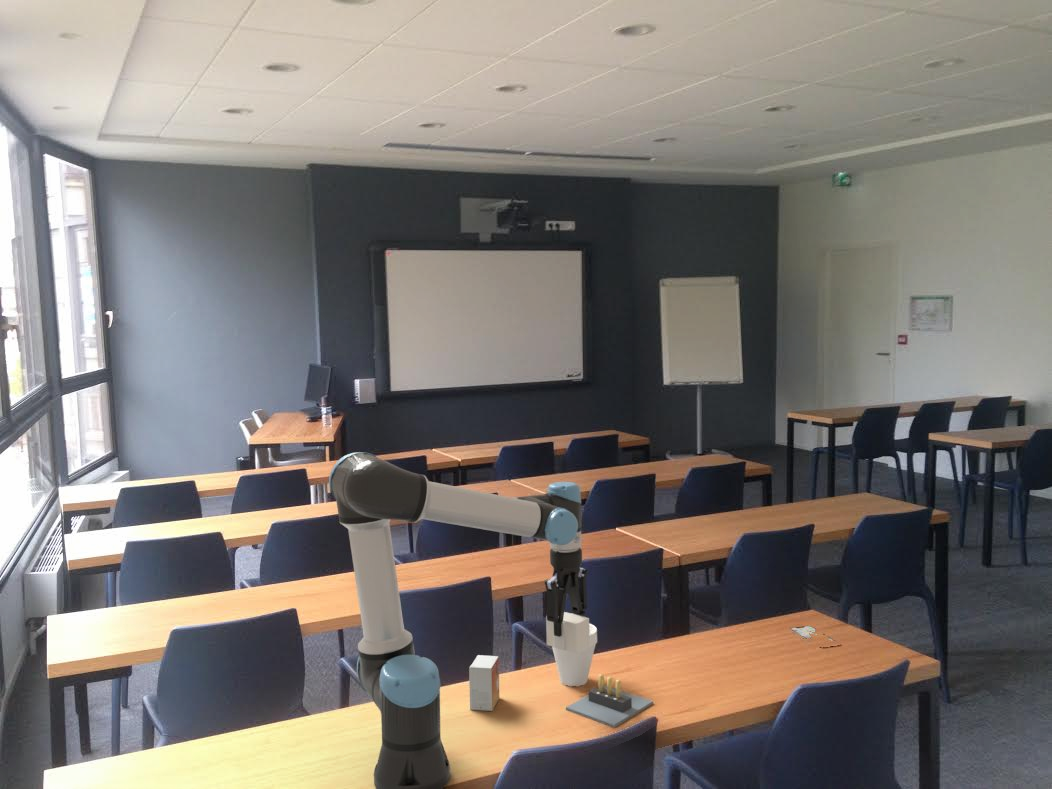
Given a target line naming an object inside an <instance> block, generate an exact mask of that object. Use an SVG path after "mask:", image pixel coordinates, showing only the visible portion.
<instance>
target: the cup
mask: <svg viewBox="0 0 1052 789" xmlns="http://www.w3.org/2000/svg"><path fill="white" fill-rule="evenodd" d="M589 638H590V647H589V648H587V649H585V650H583V651H581V652H579V653H577V654H576V653H573V652H569V651H566V650H561V649H558V648H555V647H552V646H551V647H552V652H553V656H554V660H555V664H556V668H557V672H558V677H559V681H560V683H561V684H562V685H564V686H566V685H568V686H567V687H572V686H576V687H581V686H580V685H582V686H584V685H586V684H587V683H586V682H588V680H589V676H590V669H591V665H592V663H593V662H592V661H593V656H594V652H595V649H596V644H598V629H597V627H596V626H595V625H594V624H592V623H589ZM585 683H586V684H585ZM583 684H584V685H583Z"/></svg>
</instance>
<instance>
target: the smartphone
mask: <svg viewBox="0 0 1052 789" xmlns="http://www.w3.org/2000/svg"><path fill="white" fill-rule="evenodd" d="M814 628H815V627H814V626H811V625H804V626H803V625H802V626H798V627H797V626H795V627H790V628H789V631H790V630H792V631H794V632H795V633H797V634H799V635H800V636H802V637H803V638H805V639H807V638H810V639H812V637H811V636H810V635H809V633H810V634H814V633H812V632H815V629H816V628H815V629H814ZM810 631H811V632H810ZM814 635H817V634H814ZM823 635H826V634H825V633H823ZM828 637H829V640H831V641H836V640H835V639H834V638H832V637H830V636H828ZM833 639H834V640H833ZM808 641H809V640H808ZM810 642H811V641H810Z"/></svg>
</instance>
